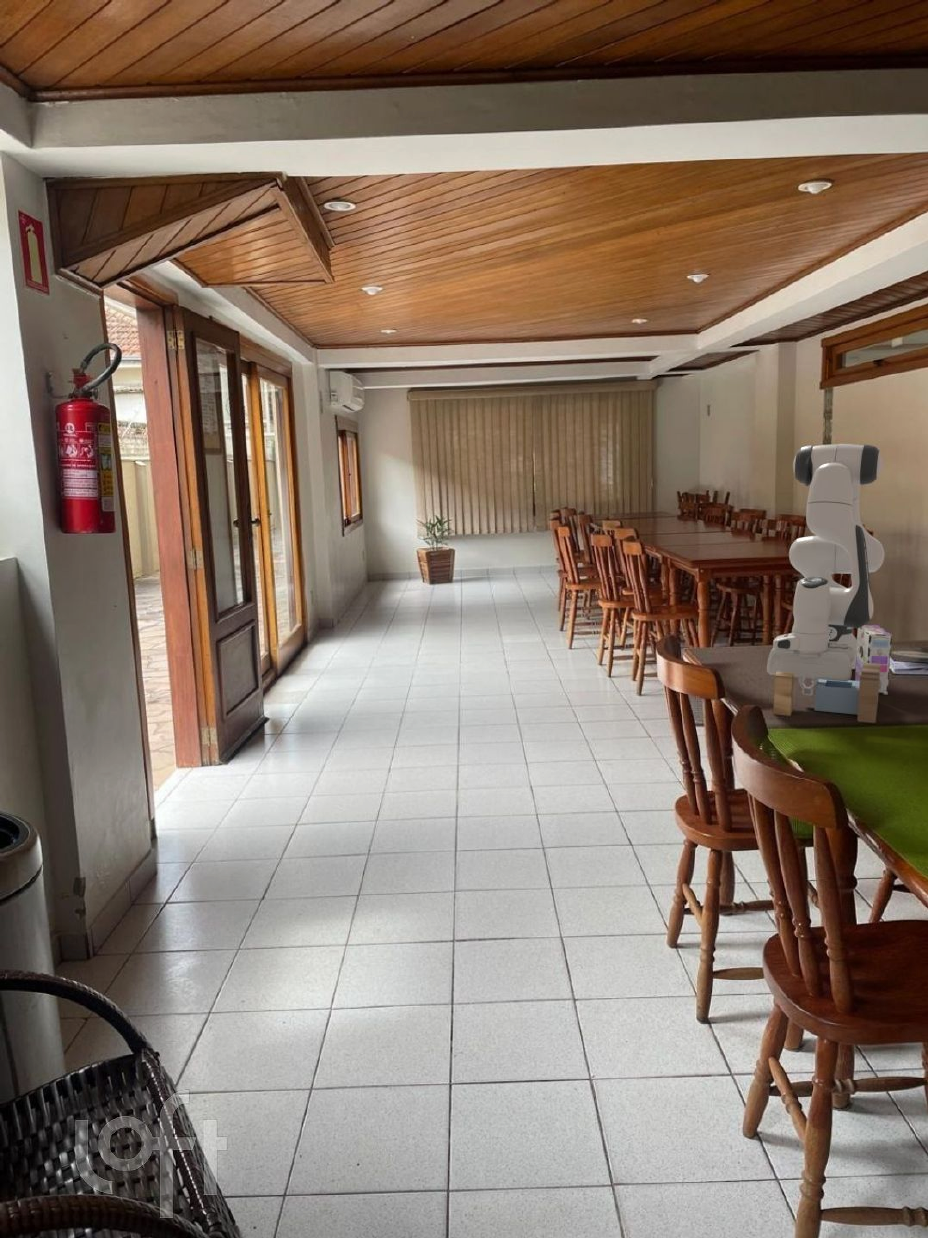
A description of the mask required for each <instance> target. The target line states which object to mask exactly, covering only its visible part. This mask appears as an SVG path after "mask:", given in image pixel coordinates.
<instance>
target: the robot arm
mask: <svg viewBox="0 0 928 1238" xmlns="http://www.w3.org/2000/svg"><path fill="white" fill-rule="evenodd" d="M882 459H883V457H882V455H881V452H880V450H879V448H878V447H877V446H874V445H870V444H864V445H862V444H852V443H837V444H823V445H822V444H820V445H813V444H812V445H811V444H810V445H806V446H802V447H800V448H799V449H798V450H797V452H796V455H795V456H794V459H793V462H792V470H793V473H794V477H795V479H796V480H797V481H798V482H799V483H802V484H804V485H805V486H806V487H809V489H808V494H807V501H806V512H805V513H806V514H805V516H806V517H805V519H806V520H805V523H806V525H807V528H808V529H809V530H810V532H811V533H812V534H813V535H810V536H804V537H798V538H796V539H795V540H794V541H793V543H792V544H791V546H790V548H789V551H788V557H789V562H790V565H792V567H793V568H794V569H795V570H796V571H797V572H799V573H800V574H801V575H802V576H803V578H800V580H798V581H797V584H796V588H795V593H794V597H793V598H792V614H793V618H794V619H793V620H794V621H793V625H792V629H791V632H790V633H785V634H780V635H778V636H776V637H774V639H773V641H772V642H773V643H772V649H770V652H769V655H768V658H767V664H766V672H767V673H768V674H769V676H770V675H771V676H775V674H776V673H777V671H778V672H790V673H794V678H798V681H797V682H798V683H799V685H800V687H801V690H802V691H801V693H802V695H804V696H805V695H807V696H812V695H813V692H814V687H816V685H817V682H818V680H819V679H823V680H835V681H846V682H847V681H848V680H851V679H852V673H853V670H856V650H857V637H855V635H854V634H853V633H854V632H855V631H854V629H858V628H860V627H862V626H864V625H868V623H870V622H871V621H872V618H873V615H874V601H873V596H872V592H871V584H870V583H871V581H870V573H875V572H877V571H878V570H879V569H881V566H882V565H883V563H884V560H885V554H886V553H885V550H884V546H883V544H882V543H881V542H880V541H879V540H878V539H877V538H875V537H874V536H873V535H871V534H870V533H869V531H867V530H866V528H865V527H864V525H863V523H862V521H861V515H860V497H861V496H860V494H861V486H864V485H869V484H873V483H874V482H875V481H876V480H877V479H878V477H879V475H880V474H881V471H882V468H883V460H882ZM834 574H842V575H844V574H846V575H847V574H848V575H850V577H851V579H850V580H851V586H850V587H848V588H847V587H845V586H843V585H841V584H840V583H838V582H836V581H835V580H834V579H833V576H832V575H834ZM806 679H811V680H810V681H811V683H812V684H811V685H810V686H806V684H805V680H806Z"/></svg>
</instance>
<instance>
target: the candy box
mask: <svg viewBox="0 0 928 1238" xmlns="http://www.w3.org/2000/svg"><path fill="white" fill-rule="evenodd" d="M856 633H857V635H856V639H857V650H856V669H854V670H855V672H854V673H855V674H854V681H860V677H861V673H862V668H863V663H864V662H865V663H878V664H880V680H879V695H886V696H887V695H888V694H889V680H890V667H891V654H892V653H891V652H892V639H893V635H892V634H891V633H890V632H888V631H886V630H885V629H884V628H883V627H881V625H880V624H879V625H878V624H865V625H864V626H862V627H860V628H857V632H856Z"/></svg>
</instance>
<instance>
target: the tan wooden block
mask: <svg viewBox="0 0 928 1238" xmlns="http://www.w3.org/2000/svg"><path fill="white" fill-rule="evenodd" d="M794 681H795V677H794V673H790V672H778V671H777V673H776V674H775V675H774V687H773V688H774V694H773V695H774V696H773V711H772V712H773V715H779V716H790V717H791V716H792V713H793V704H794V703H793V700H794Z"/></svg>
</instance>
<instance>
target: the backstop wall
mask: <svg viewBox="0 0 928 1238" xmlns="http://www.w3.org/2000/svg"><path fill="white" fill-rule="evenodd" d="M879 680H880V664H878V663H865V662H864V663H863V668H862V673H861V677H860V685H859V701H858V715H857V719H856V721H857V722H860V723H862V722H863V723H868V724H869V723H872V724H876V722H877V713H878V704H879V696H880V694H879Z"/></svg>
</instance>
